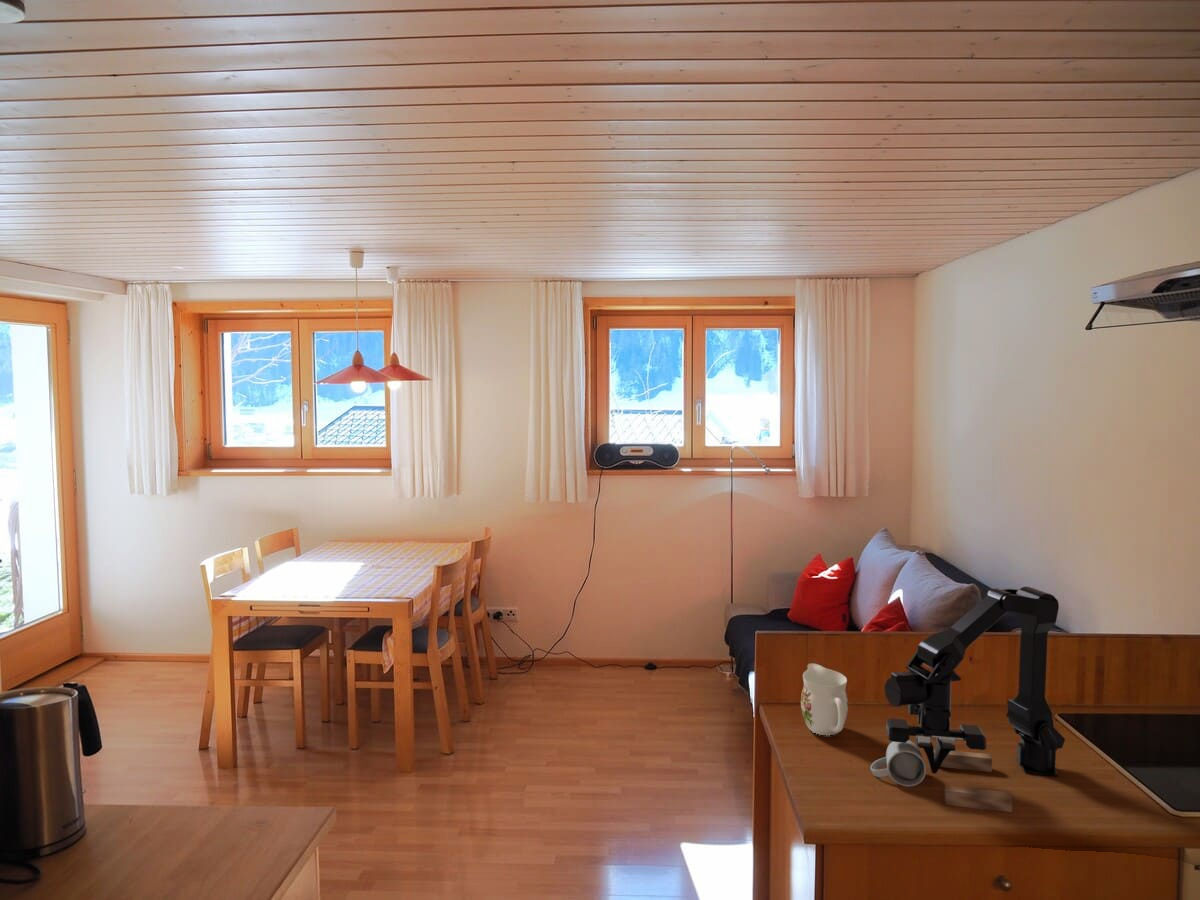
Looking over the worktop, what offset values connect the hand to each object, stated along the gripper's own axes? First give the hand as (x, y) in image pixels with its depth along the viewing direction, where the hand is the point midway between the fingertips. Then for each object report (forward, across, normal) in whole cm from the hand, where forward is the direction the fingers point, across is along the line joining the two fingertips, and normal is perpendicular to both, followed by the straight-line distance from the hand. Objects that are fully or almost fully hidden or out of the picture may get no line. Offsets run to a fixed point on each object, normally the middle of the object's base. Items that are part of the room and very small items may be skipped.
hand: (933, 772), depth 163 cm
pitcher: (+2, +21, -19) cm, 28 cm away
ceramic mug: (+2, +7, 0) cm, 7 cm away
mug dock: (+2, -7, 0) cm, 7 cm away
